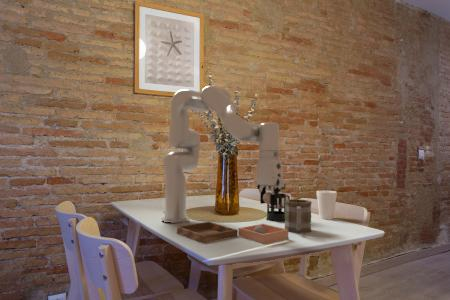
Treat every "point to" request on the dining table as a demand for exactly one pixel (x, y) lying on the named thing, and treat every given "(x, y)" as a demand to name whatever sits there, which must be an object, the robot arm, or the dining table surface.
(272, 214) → the french press
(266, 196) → the beige ball
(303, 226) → the mug
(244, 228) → the terracotta dish
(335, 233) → the dining table surface
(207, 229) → the walnut tray
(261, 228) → the grey ball
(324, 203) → the foam cup
